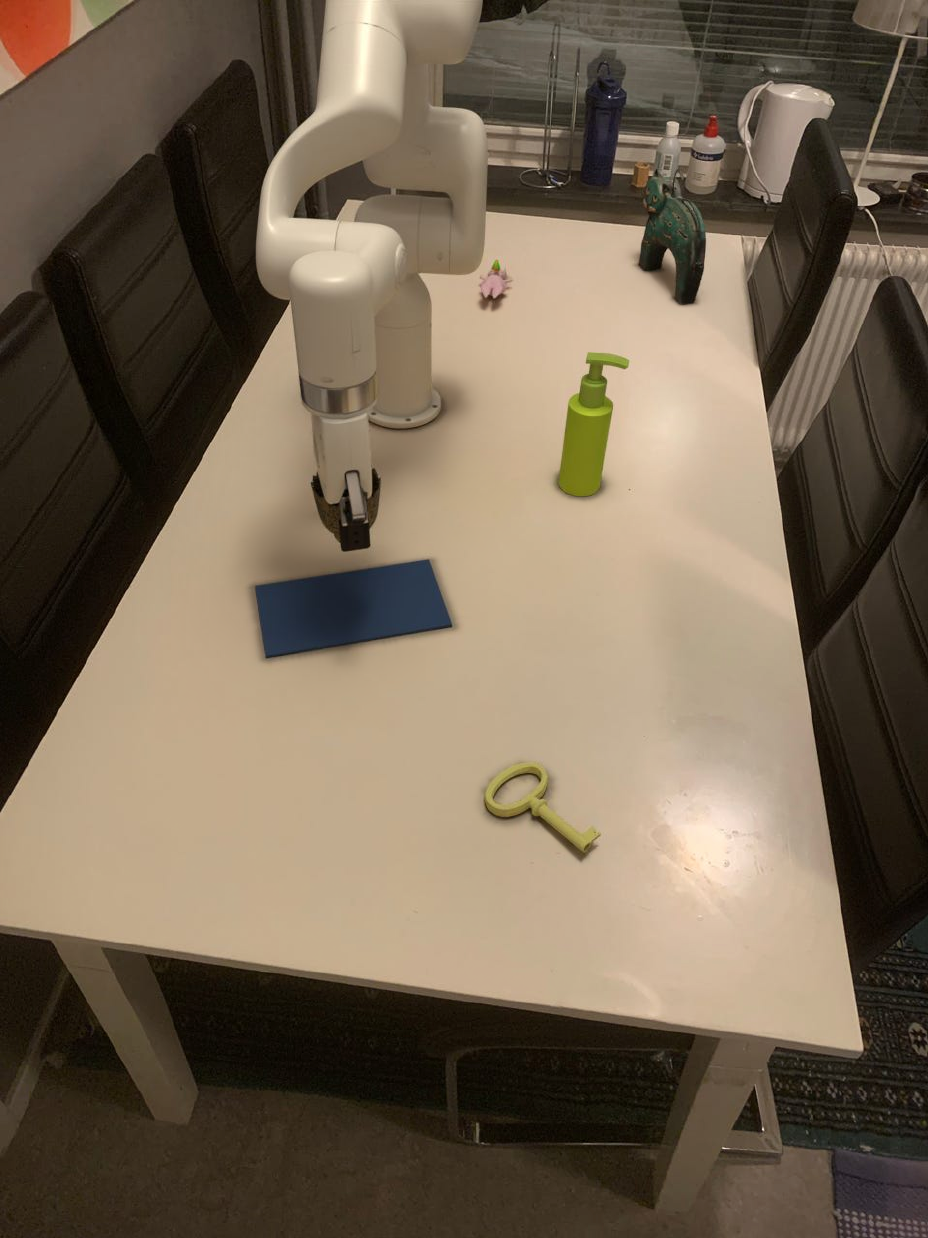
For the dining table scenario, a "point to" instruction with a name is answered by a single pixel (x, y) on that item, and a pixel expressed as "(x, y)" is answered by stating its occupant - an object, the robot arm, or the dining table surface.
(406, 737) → the dining table surface
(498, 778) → the key
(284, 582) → the cloth
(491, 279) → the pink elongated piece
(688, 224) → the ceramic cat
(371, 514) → the dark brown rounded piece
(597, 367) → the soap dispenser
